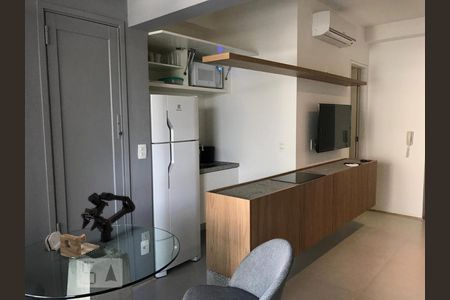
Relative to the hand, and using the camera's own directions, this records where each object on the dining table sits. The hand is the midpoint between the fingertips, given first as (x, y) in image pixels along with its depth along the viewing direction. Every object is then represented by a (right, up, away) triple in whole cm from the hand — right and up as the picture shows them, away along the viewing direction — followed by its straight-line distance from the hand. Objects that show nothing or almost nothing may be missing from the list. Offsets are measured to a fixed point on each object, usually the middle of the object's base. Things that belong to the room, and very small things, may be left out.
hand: (86, 229), depth 217 cm
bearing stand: (-2, -13, -3) cm, 14 cm away
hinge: (-24, -13, +7) cm, 28 cm away
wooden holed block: (-3, -7, -6) cm, 10 cm away
